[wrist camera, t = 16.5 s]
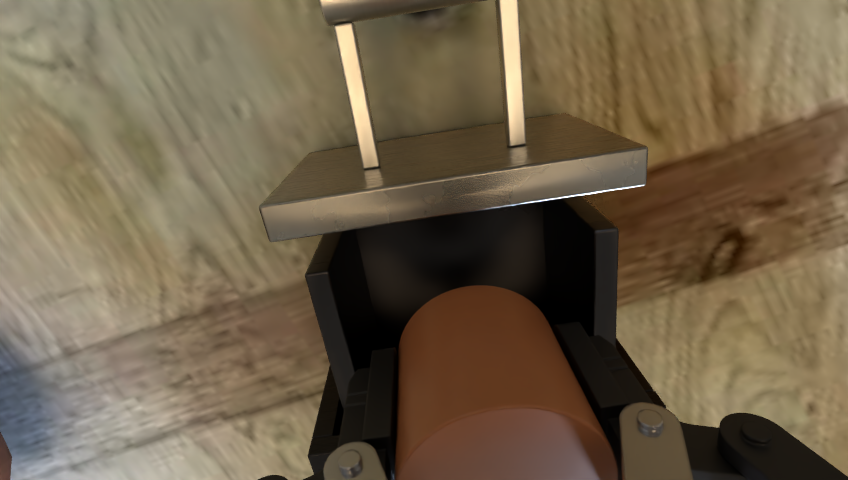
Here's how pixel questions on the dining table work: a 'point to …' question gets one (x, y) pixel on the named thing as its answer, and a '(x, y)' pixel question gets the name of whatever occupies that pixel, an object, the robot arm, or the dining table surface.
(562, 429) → the copper tin
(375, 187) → the wooden drawer
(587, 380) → the robot arm
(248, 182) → the dining table surface
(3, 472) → the butternut squash
